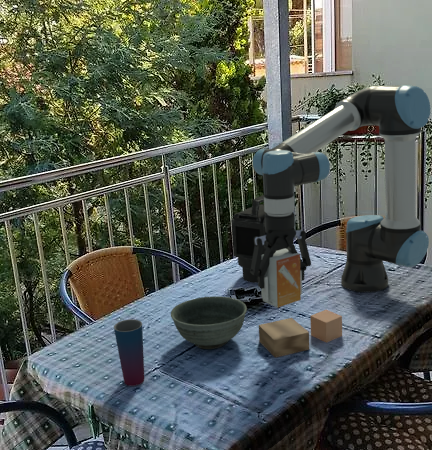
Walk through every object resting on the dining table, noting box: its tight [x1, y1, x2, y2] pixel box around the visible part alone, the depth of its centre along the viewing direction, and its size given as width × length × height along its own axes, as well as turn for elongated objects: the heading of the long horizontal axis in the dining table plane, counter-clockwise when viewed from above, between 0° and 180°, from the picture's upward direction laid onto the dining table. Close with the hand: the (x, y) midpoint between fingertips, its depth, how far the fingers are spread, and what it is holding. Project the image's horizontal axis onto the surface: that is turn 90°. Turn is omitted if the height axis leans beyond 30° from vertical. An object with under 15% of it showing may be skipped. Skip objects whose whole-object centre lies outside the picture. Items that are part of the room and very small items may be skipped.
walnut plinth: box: [258, 317, 310, 359], centre depth 158 cm, size 10×10×5 cm
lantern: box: [230, 194, 294, 284], centre depth 204 cm, size 15×18×30 cm
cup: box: [113, 318, 145, 387], centre depth 144 cm, size 7×7×15 cm
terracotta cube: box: [310, 309, 343, 343], centre depth 162 cm, size 6×6×6 cm
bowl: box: [170, 295, 248, 350], centre depth 162 cm, size 21×21×10 cm
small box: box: [262, 248, 302, 309], centre depth 153 cm, size 8×6×13 cm
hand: (281, 295), depth 154 cm, fingers closed on small box, 9 cm apart
